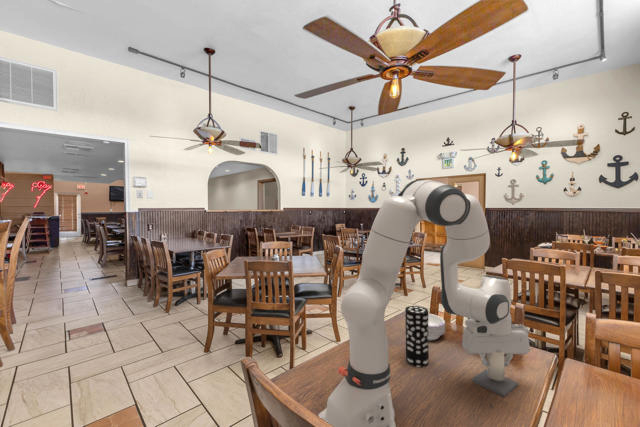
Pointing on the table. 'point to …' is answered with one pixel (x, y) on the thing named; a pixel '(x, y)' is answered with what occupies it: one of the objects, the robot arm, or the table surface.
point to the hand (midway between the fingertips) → (495, 365)
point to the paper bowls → (435, 326)
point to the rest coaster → (495, 384)
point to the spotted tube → (417, 336)
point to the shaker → (496, 365)
